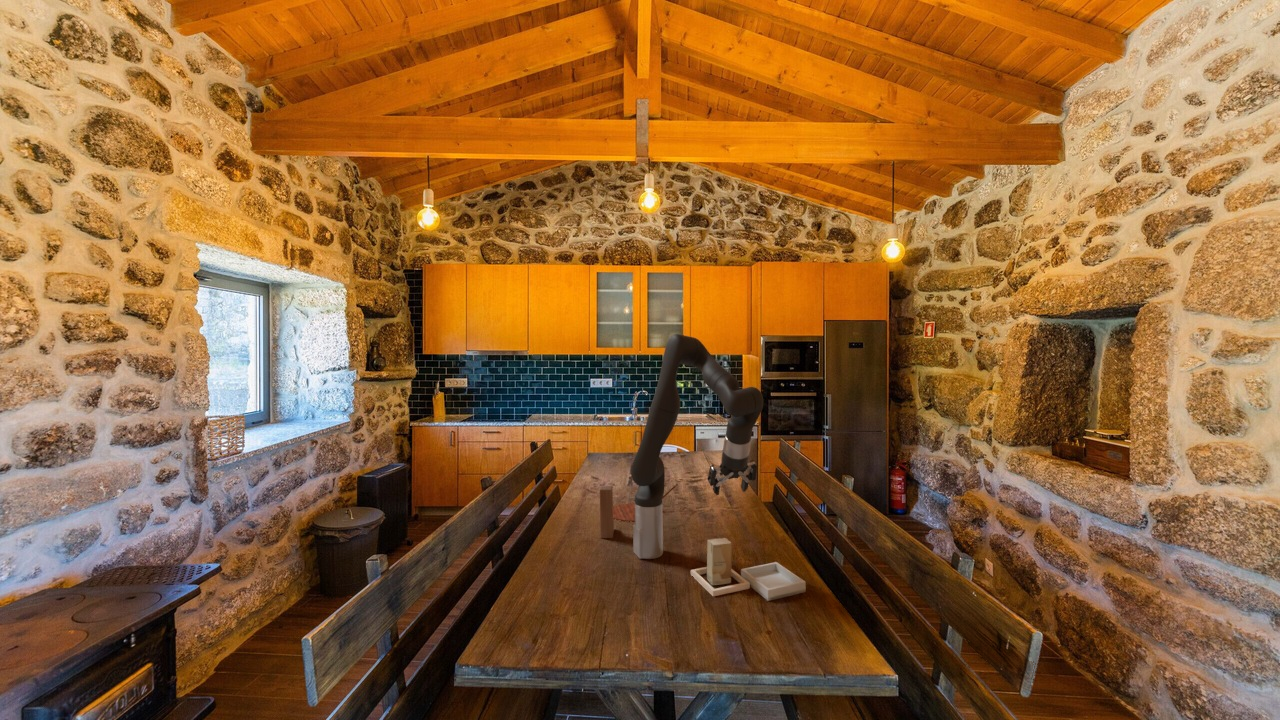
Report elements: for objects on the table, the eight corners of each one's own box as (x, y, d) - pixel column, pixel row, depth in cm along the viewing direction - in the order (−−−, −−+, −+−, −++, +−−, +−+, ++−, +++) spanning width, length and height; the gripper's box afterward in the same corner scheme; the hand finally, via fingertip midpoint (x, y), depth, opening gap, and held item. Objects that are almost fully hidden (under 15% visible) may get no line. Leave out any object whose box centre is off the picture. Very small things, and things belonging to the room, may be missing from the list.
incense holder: (604, 507, 217) (604, 482, 217) (671, 501, 223) (671, 477, 222) (611, 524, 196) (610, 496, 196) (684, 518, 202) (684, 491, 202)
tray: (768, 600, 137) (768, 590, 137) (741, 579, 150) (741, 569, 150) (805, 592, 142) (805, 581, 141) (776, 571, 154) (776, 561, 154)
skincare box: (712, 586, 146) (712, 545, 145) (706, 579, 150) (706, 539, 149) (732, 583, 147) (732, 542, 147) (726, 576, 151) (725, 536, 151)
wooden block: (602, 529, 191) (601, 482, 190) (613, 529, 191) (613, 482, 190) (600, 538, 182) (599, 489, 181) (612, 538, 182) (611, 489, 181)
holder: (713, 596, 140) (713, 591, 140) (690, 574, 153) (690, 569, 153) (749, 588, 144) (749, 583, 144) (724, 567, 157) (724, 563, 157)
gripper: (754, 438, 148) (747, 480, 156) (708, 443, 145) (703, 485, 153) (764, 455, 141) (756, 497, 149) (716, 460, 139) (711, 503, 147)
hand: (729, 491), depth 151 cm, fingers open, 8 cm apart
